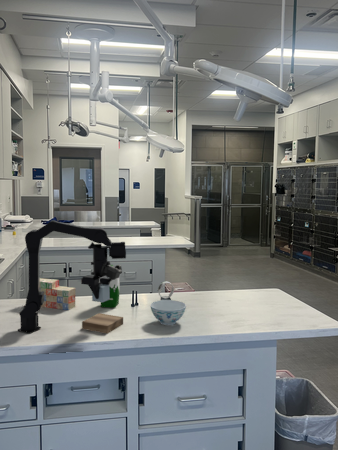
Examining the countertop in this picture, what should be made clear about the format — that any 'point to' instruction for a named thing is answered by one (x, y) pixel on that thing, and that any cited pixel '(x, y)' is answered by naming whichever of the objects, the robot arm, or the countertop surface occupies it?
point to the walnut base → (102, 323)
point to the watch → (162, 289)
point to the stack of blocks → (57, 295)
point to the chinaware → (168, 311)
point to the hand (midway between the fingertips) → (100, 297)
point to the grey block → (102, 294)
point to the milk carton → (112, 294)
